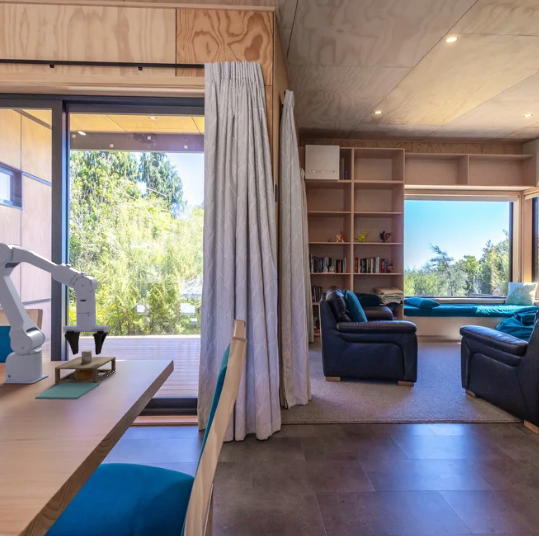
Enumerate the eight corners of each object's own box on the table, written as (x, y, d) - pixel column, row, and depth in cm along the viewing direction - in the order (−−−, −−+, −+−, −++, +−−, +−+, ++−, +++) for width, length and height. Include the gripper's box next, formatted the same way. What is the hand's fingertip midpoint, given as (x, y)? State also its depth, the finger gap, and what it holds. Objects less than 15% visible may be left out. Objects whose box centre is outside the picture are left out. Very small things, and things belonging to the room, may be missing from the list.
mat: (35, 398, 100) (35, 396, 100) (61, 383, 112) (61, 382, 112) (77, 398, 99) (77, 397, 99) (99, 384, 111) (99, 382, 111)
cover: (55, 383, 113) (54, 356, 112) (78, 370, 126) (78, 346, 125) (95, 383, 112) (95, 356, 112) (115, 371, 125) (115, 346, 125)
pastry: (103, 378, 117) (103, 367, 117) (81, 384, 113) (81, 371, 113) (93, 372, 124) (92, 361, 124) (71, 377, 119) (71, 365, 119)
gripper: (56, 314, 115) (57, 357, 115) (101, 314, 114) (102, 357, 114) (70, 311, 122) (70, 351, 122) (112, 311, 121) (112, 351, 121)
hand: (86, 354), depth 119 cm, fingers open, 7 cm apart
